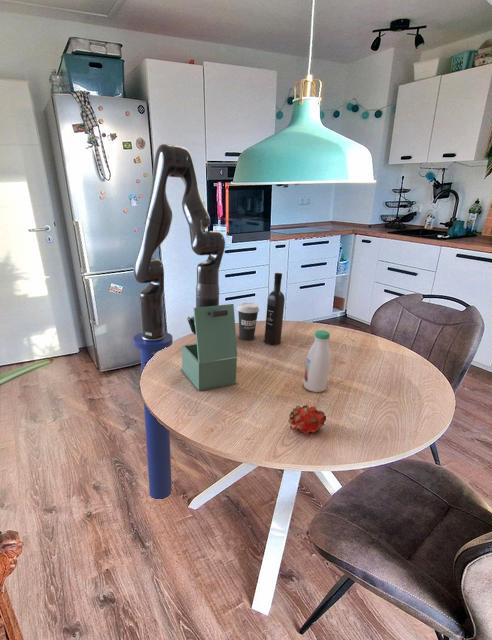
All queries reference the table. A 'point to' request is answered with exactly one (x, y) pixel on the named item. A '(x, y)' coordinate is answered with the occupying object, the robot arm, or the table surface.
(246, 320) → the coffee cup
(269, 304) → the wine bottle
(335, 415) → the table surface
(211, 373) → the green rectangular box
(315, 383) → the milk bottle
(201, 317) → the green box lid
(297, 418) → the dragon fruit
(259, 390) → the table surface
